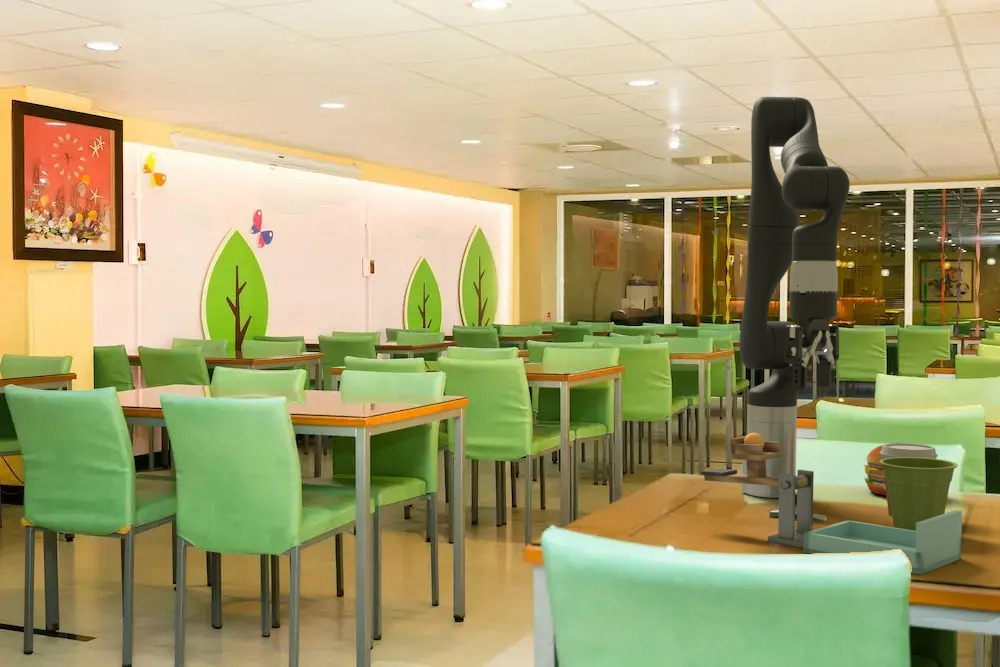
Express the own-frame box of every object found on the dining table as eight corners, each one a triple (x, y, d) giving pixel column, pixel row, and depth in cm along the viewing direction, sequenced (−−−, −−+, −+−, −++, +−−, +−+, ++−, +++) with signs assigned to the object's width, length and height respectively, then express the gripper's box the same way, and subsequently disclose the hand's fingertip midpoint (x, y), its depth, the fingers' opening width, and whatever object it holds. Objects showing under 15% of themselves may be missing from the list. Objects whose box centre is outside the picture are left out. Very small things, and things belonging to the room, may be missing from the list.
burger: (851, 494, 211) (852, 443, 211) (879, 486, 222) (880, 436, 221) (922, 503, 202) (923, 449, 202) (947, 494, 213) (948, 443, 212)
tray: (803, 553, 162) (804, 505, 161) (847, 539, 171) (848, 494, 171) (920, 574, 149) (921, 523, 149) (960, 558, 159) (962, 510, 159)
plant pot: (876, 521, 185) (878, 455, 185) (952, 526, 182) (953, 458, 182) (879, 535, 174) (881, 465, 174) (960, 541, 171) (961, 469, 170)
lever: (812, 487, 171) (810, 438, 171) (792, 491, 167) (790, 441, 167) (719, 480, 183) (717, 434, 183) (699, 484, 179) (697, 437, 179)
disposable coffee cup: (941, 521, 186) (942, 451, 186) (882, 518, 188) (883, 449, 187) (931, 510, 195) (932, 443, 195) (875, 508, 197) (876, 442, 197)
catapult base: (828, 540, 170) (830, 472, 170) (802, 548, 165) (804, 478, 164) (794, 534, 175) (795, 467, 174) (767, 541, 169) (768, 473, 169)
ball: (741, 454, 175) (738, 434, 175) (752, 452, 177) (749, 433, 177) (758, 453, 173) (755, 432, 173) (769, 451, 175) (766, 431, 175)
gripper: (812, 289, 186) (811, 385, 187) (770, 288, 176) (769, 389, 176) (854, 289, 181) (853, 387, 182) (814, 288, 171) (812, 392, 171)
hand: (811, 388), depth 179 cm, fingers open, 8 cm apart
